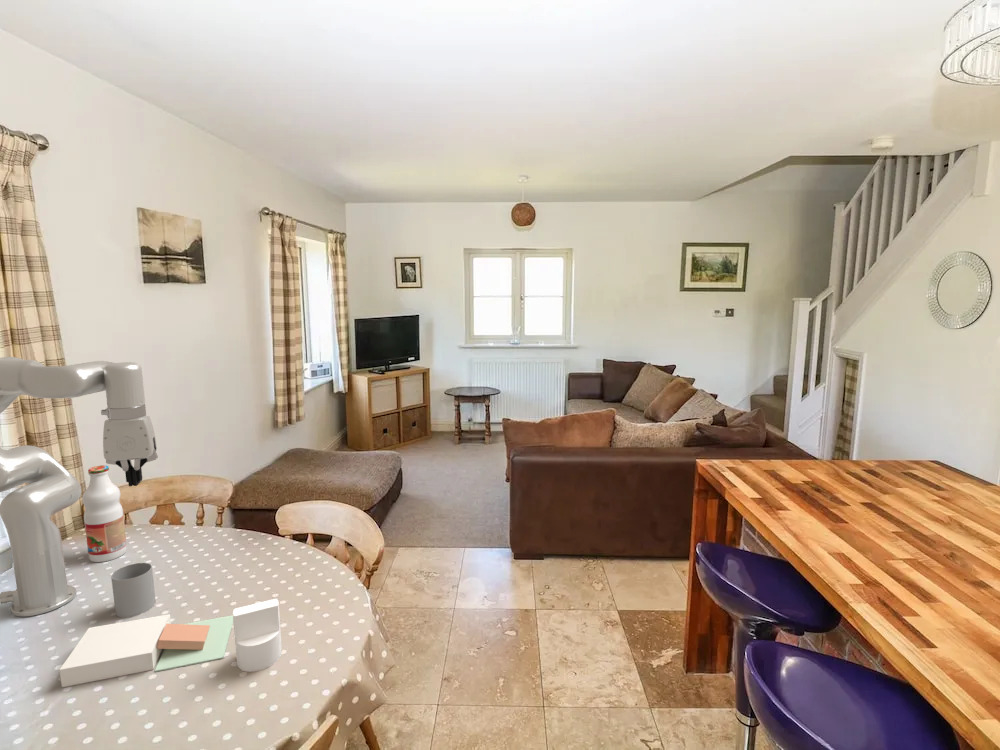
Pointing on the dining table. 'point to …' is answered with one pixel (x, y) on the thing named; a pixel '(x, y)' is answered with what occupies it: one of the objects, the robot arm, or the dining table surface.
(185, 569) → the dining table surface
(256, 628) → the cylinder with rectangular tab
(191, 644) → the tile
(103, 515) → the fruit juice
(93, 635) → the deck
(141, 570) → the cup
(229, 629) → the mat
